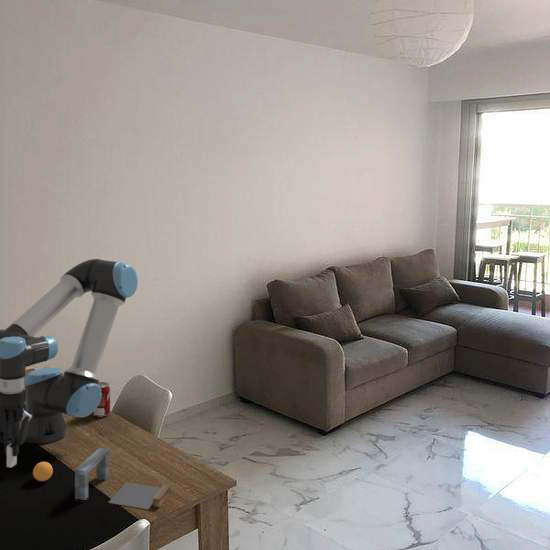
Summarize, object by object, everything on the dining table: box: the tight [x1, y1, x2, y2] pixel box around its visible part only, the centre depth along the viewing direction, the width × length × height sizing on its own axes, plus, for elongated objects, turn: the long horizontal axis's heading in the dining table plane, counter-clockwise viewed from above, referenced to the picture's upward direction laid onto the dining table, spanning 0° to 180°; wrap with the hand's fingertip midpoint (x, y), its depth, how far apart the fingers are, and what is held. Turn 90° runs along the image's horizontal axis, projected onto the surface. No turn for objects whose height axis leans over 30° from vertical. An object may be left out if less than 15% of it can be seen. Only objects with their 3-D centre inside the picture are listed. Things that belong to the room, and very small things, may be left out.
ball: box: [32, 461, 54, 482], centre depth 184 cm, size 6×6×6 cm
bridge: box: [74, 447, 110, 501], centre depth 180 cm, size 3×14×9 cm, turn 168°
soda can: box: [91, 381, 111, 418], centre depth 233 cm, size 7×7×12 cm
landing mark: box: [107, 481, 162, 511], centre depth 178 cm, size 12×12×1 cm
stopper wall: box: [152, 484, 171, 508], centre depth 177 cm, size 2×8×2 cm, turn 168°
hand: (11, 465), depth 185 cm, fingers closed
